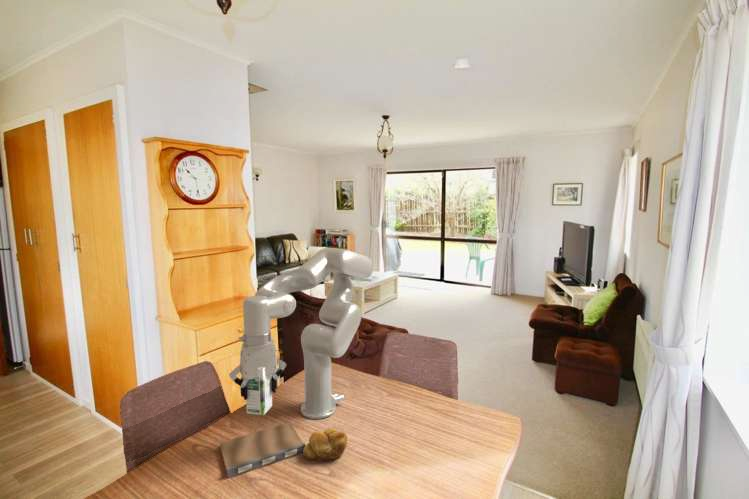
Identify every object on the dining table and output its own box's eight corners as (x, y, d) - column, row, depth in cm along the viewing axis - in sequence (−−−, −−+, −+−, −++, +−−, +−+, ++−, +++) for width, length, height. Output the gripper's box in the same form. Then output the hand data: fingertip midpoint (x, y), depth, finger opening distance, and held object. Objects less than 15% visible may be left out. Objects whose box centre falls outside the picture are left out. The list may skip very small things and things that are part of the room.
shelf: (290, 426, 126) (290, 419, 125) (305, 452, 113) (305, 445, 112) (219, 447, 115) (219, 439, 115) (228, 478, 102) (227, 470, 101)
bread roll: (302, 467, 107) (302, 440, 106) (303, 445, 116) (303, 421, 115) (348, 462, 109) (348, 436, 108) (345, 441, 118) (344, 417, 117)
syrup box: (245, 413, 111) (244, 367, 109) (256, 403, 117) (254, 359, 115) (263, 416, 110) (262, 369, 108) (273, 405, 116) (271, 360, 114)
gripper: (228, 347, 103) (230, 408, 105) (290, 337, 112) (291, 392, 114) (224, 339, 110) (226, 396, 112) (283, 329, 118) (284, 382, 121)
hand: (259, 394), depth 113 cm, fingers closed on syrup box, 7 cm apart
